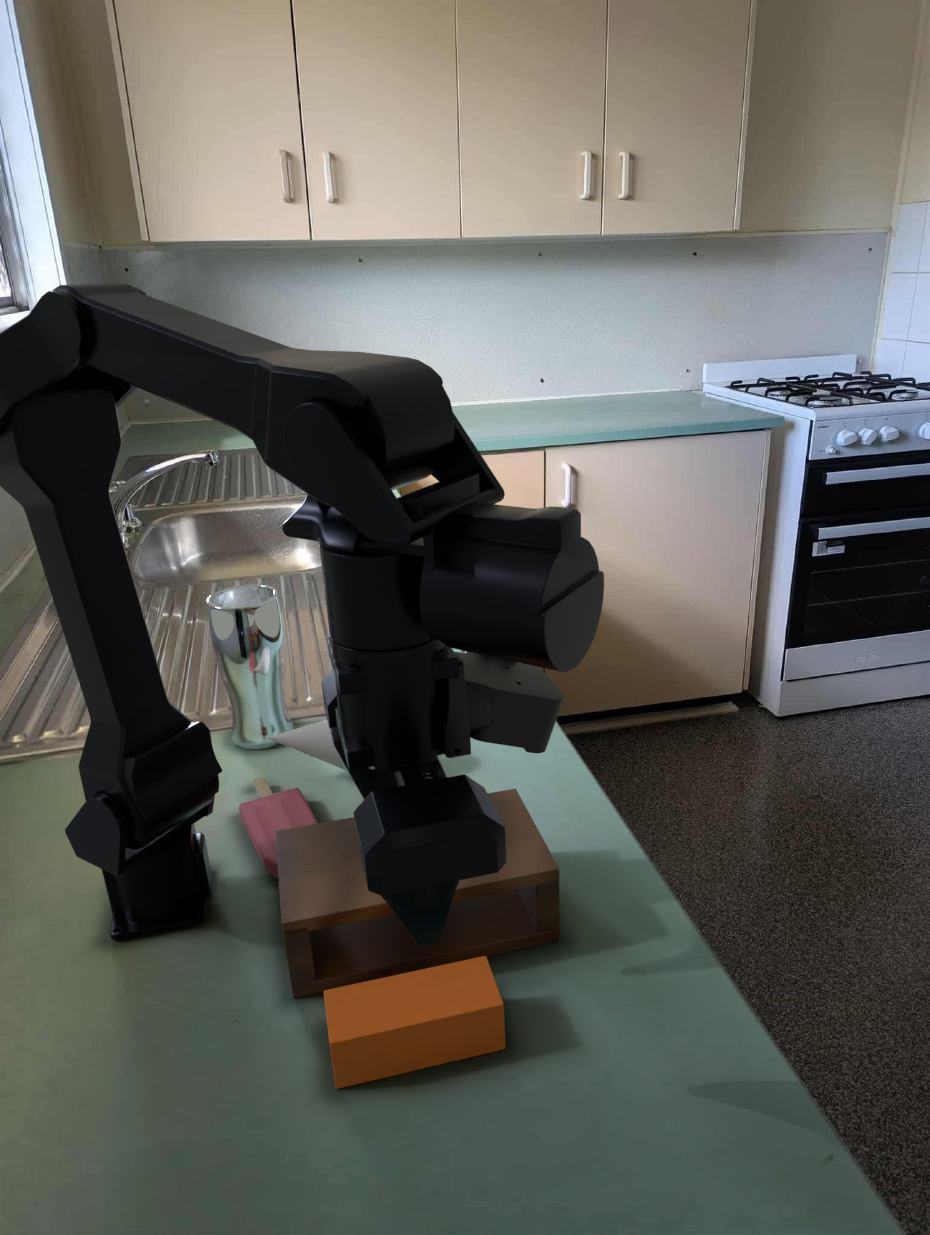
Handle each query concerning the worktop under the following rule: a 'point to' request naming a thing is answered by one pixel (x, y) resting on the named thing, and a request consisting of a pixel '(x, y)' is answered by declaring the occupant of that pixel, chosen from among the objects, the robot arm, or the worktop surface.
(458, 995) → the orange rectangular block
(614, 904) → the worktop surface
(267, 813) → the popsicle
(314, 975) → the shelf
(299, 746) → the ice cream cone
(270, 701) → the beer glass
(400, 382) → the robot arm
